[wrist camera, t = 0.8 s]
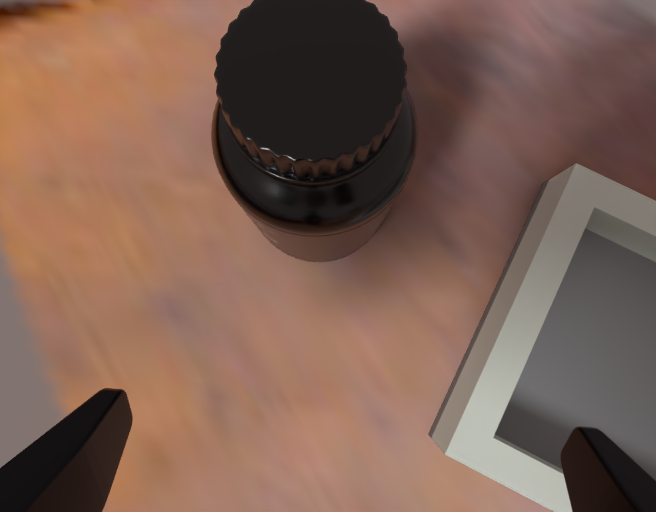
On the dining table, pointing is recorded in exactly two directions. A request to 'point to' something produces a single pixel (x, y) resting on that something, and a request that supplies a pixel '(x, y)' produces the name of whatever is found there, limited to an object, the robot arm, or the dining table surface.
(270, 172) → the supplement bottle
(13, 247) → the dining table surface
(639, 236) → the tray
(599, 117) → the dining table surface
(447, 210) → the dining table surface
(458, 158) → the dining table surface
